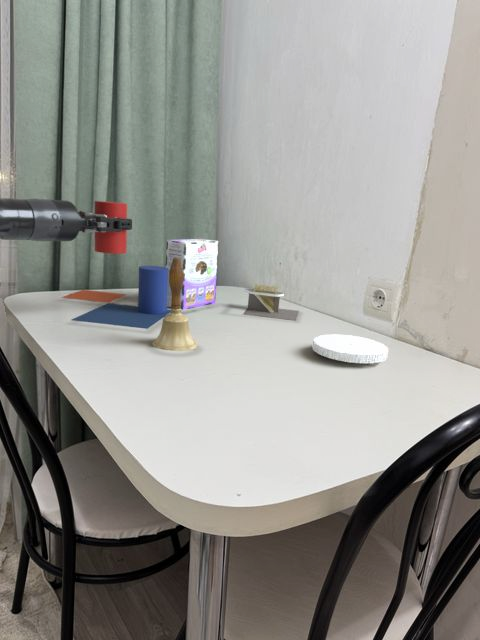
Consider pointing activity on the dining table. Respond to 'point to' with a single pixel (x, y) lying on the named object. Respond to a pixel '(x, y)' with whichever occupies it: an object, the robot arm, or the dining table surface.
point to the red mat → (94, 296)
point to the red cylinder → (111, 239)
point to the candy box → (194, 271)
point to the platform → (267, 304)
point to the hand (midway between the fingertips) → (119, 222)
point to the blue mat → (121, 316)
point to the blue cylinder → (152, 289)
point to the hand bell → (175, 317)
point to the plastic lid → (350, 348)
